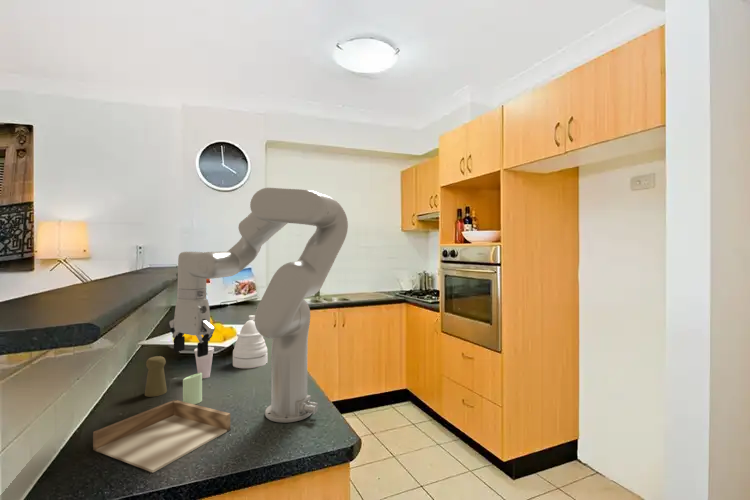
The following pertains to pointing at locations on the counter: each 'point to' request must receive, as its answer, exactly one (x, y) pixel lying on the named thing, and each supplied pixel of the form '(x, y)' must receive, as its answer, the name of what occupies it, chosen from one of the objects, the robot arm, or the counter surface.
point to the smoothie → (204, 362)
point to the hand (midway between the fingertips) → (190, 353)
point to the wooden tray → (161, 434)
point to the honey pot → (249, 347)
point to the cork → (155, 377)
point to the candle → (192, 389)
